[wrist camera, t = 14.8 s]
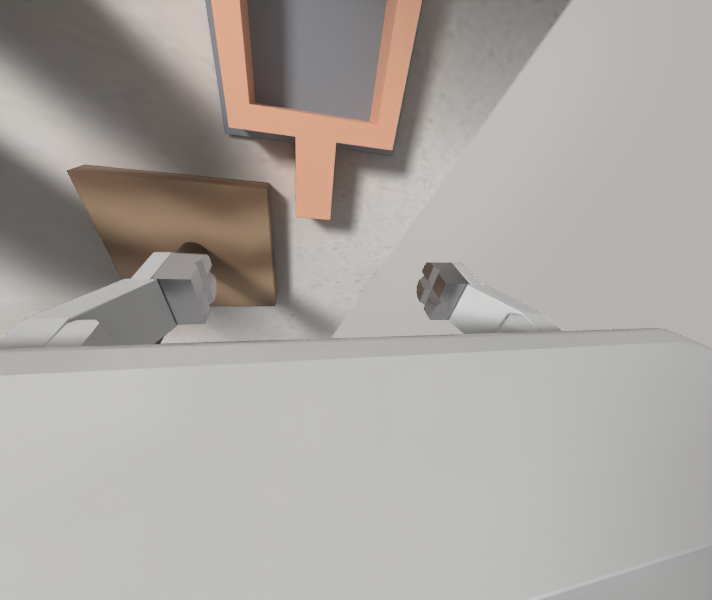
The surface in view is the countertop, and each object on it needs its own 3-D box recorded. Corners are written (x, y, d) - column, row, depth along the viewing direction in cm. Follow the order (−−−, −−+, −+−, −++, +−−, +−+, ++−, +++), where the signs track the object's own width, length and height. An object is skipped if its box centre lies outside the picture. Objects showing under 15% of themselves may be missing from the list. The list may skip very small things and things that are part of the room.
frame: (201, -169, 13) (179, -228, 10) (423, -87, 15) (445, -120, 13) (246, 201, 23) (240, 213, 21) (371, 212, 26) (377, 223, 24)
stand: (84, 164, 20) (-370, 311, 7) (268, 182, 23) (221, 309, 10) (144, 294, 28) (-4, 483, 14) (276, 295, 31) (257, 452, 17)
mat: (174, -220, 12) (170, -229, 12) (443, -115, 15) (446, -119, 15) (226, 132, 20) (225, 133, 20) (390, 154, 23) (392, 155, 23)
